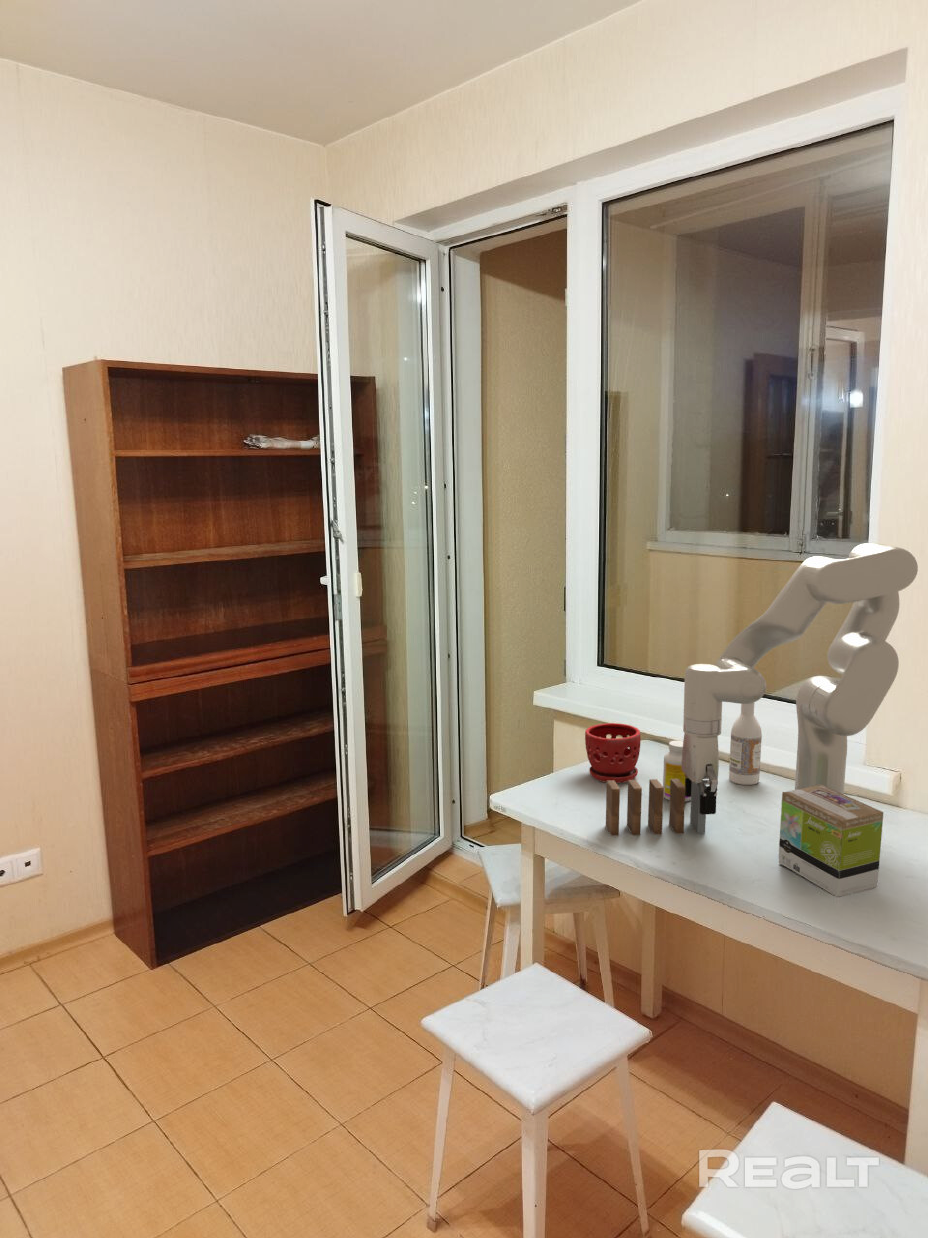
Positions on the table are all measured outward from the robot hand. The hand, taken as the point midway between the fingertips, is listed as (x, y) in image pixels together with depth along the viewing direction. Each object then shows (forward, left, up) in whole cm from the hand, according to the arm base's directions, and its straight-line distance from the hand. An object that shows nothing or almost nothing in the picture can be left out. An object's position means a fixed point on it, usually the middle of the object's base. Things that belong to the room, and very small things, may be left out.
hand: (699, 804), depth 186 cm
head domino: (0, 0, -5) cm, 5 cm away
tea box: (-27, +10, -5) cm, 29 cm away
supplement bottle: (+9, -14, -5) cm, 18 cm away
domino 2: (+11, +8, -5) cm, 15 cm away
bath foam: (-1, -33, -5) cm, 34 cm away
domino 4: (+4, +3, -5) cm, 7 cm away
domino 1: (+15, +11, -5) cm, 19 cm away
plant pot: (+27, -19, -5) cm, 34 cm away
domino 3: (+8, +5, -5) cm, 11 cm away
